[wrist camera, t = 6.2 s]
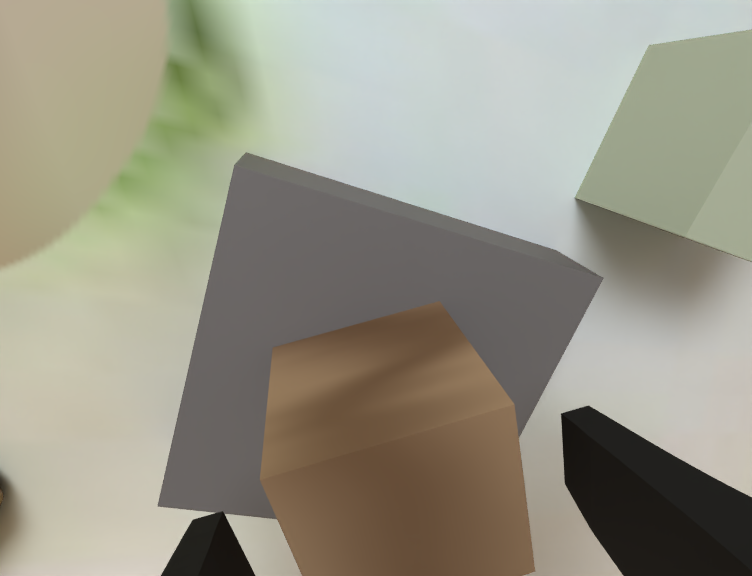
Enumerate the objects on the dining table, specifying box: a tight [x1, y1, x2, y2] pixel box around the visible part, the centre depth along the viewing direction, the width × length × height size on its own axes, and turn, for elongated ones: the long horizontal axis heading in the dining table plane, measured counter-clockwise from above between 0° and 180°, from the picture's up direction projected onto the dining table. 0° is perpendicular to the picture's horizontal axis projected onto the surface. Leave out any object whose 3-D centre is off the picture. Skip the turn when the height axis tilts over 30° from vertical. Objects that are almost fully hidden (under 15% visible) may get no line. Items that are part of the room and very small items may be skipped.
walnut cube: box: [260, 301, 535, 576], centre depth 11 cm, size 4×4×4 cm
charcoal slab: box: [158, 153, 603, 519], centre depth 14 cm, size 10×10×3 cm
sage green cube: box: [575, 30, 752, 262], centre depth 12 cm, size 4×4×4 cm
